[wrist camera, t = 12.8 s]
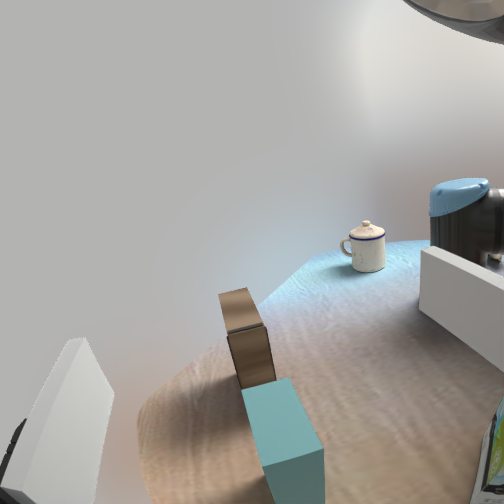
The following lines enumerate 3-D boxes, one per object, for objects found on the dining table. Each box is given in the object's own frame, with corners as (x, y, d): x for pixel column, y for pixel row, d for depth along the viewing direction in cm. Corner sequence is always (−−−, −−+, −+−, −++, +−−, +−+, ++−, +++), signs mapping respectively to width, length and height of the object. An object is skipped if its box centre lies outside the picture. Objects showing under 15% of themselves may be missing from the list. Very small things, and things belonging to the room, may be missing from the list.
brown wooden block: (237, 372, 46) (216, 293, 42) (264, 365, 47) (247, 285, 43) (250, 421, 36) (225, 334, 32) (283, 412, 36) (266, 324, 32)
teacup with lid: (389, 260, 76) (387, 216, 72) (382, 274, 69) (380, 226, 66) (347, 258, 83) (343, 216, 79) (336, 271, 76) (331, 226, 73)
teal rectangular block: (266, 472, 27) (241, 390, 23) (301, 462, 28) (288, 377, 24) (284, 529, 20) (262, 466, 16) (325, 517, 20) (323, 448, 16)
